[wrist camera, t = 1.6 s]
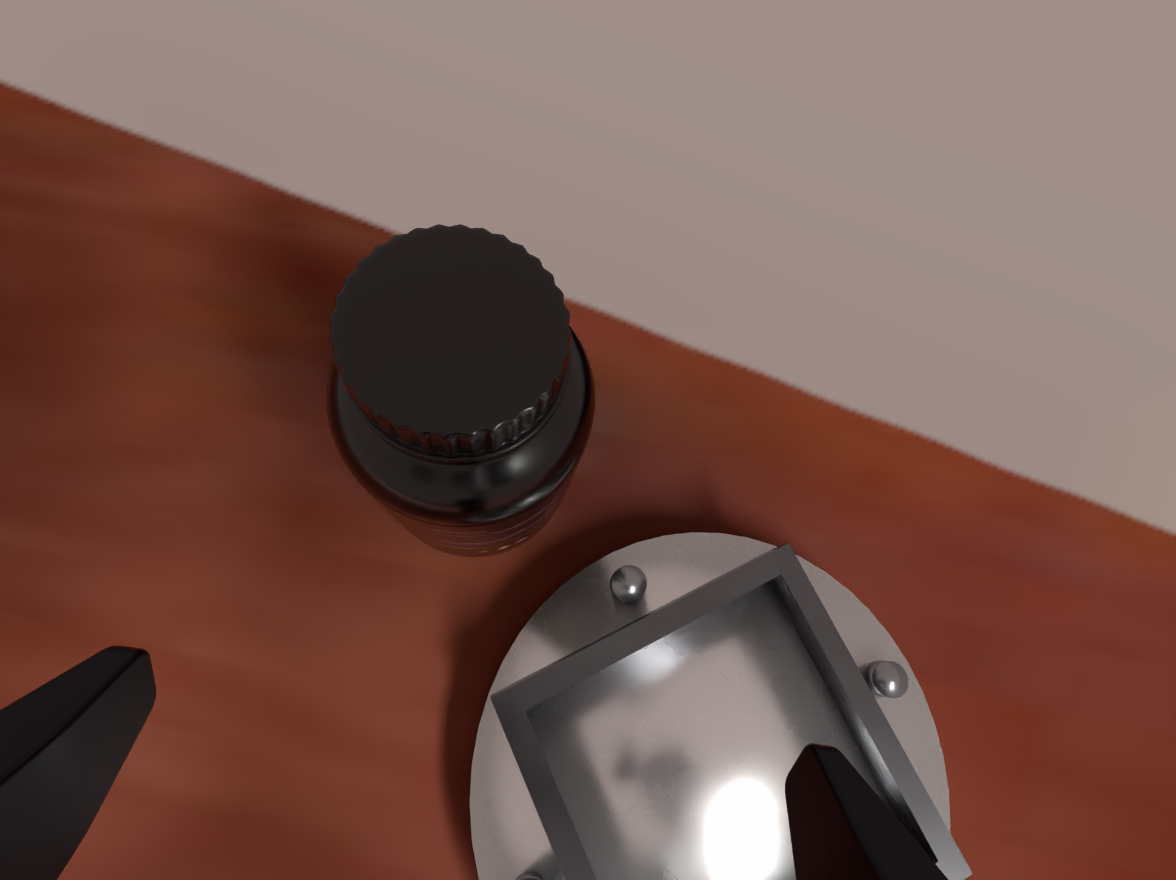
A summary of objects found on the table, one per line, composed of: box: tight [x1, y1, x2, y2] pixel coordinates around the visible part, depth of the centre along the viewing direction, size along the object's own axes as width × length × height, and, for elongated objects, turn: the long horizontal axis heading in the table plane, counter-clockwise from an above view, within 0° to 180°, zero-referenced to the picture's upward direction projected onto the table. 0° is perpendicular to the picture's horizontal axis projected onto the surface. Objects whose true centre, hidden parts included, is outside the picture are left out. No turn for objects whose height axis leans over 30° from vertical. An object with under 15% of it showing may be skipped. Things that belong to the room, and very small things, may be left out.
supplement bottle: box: [326, 224, 595, 557], centre depth 18 cm, size 7×7×12 cm
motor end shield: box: [470, 532, 972, 880], centre depth 20 cm, size 16×16×3 cm
